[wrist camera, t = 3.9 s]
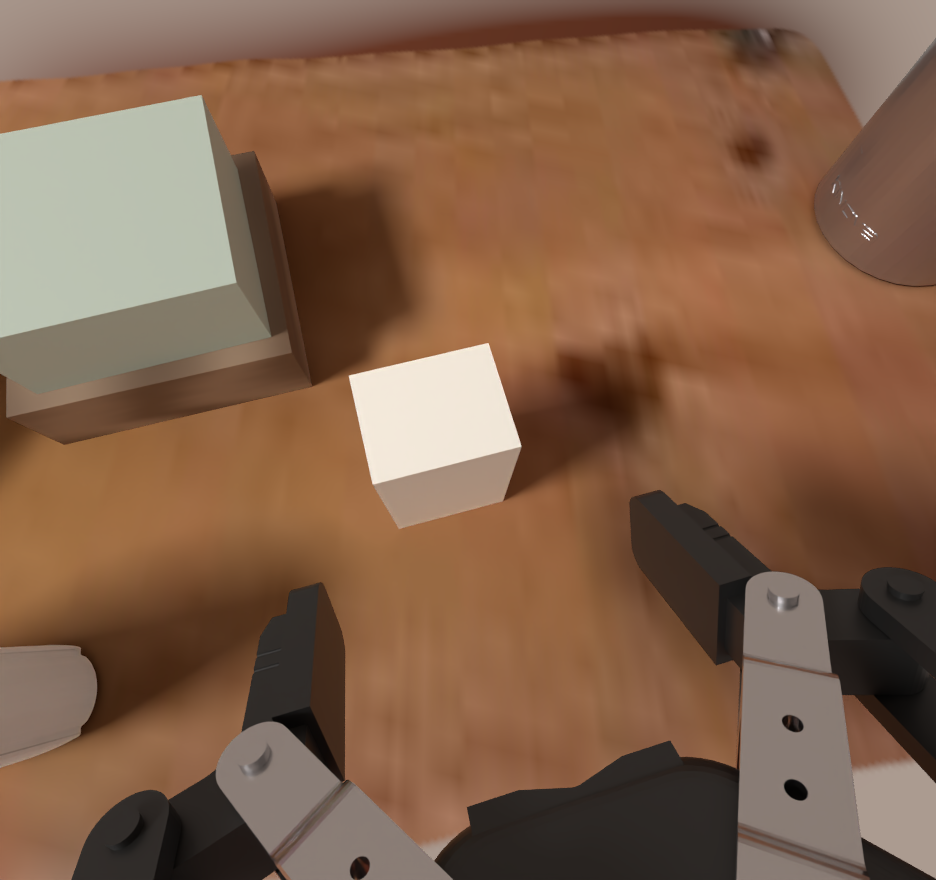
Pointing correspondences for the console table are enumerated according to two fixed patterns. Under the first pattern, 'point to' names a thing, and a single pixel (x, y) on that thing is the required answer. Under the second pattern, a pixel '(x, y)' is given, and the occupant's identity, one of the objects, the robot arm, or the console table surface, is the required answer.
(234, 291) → the tower top
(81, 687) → the photo printer
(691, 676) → the console table surface
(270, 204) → the tower base
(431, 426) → the cream block
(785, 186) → the console table surface
